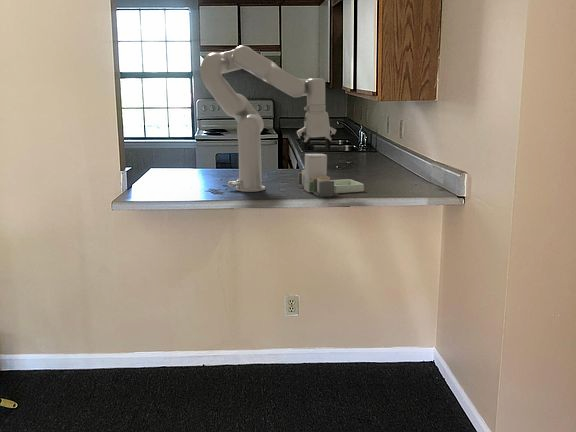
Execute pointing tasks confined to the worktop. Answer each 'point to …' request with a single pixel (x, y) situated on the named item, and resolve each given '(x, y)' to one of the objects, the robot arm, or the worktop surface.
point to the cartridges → (318, 179)
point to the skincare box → (314, 169)
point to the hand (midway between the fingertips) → (316, 150)
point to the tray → (347, 186)
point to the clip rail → (324, 187)
